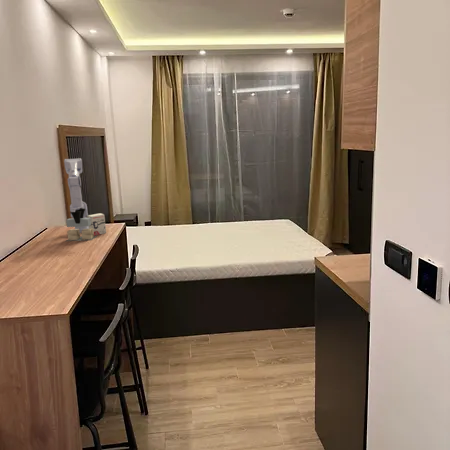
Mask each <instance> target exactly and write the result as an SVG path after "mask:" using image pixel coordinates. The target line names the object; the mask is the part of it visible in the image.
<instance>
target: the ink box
mask: <svg viewBox="0 0 450 450" xmlns="http://www.w3.org/2000/svg"><path fill="white" fill-rule="evenodd" d="M86 217H87V218H90V222H91V225H90V226H89V229H92V228H93V231H94V236H98V235H102V234H107V228H106V226H107V225H106V217H105V214H104V213H101V212H100V213H94V214H88V216H86Z"/></svg>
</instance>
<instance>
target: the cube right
mask: <svg viewBox="0 0 450 450" xmlns="http://www.w3.org/2000/svg"><path fill="white" fill-rule="evenodd" d="M81 232H82V233H81V236H82V240H84V239H92V238H94V236H95V235H94V231H93V228H92V229H83V230H82V231H81ZM94 239H95V238H94Z"/></svg>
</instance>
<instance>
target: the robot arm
mask: <svg viewBox="0 0 450 450" xmlns="http://www.w3.org/2000/svg"><path fill="white" fill-rule="evenodd" d="M63 163H64V169H65V173H66V174H67V175H68V178H67V186H68V189H69V195H70V201H71V202H70V203H71V204H70V205H69V212H70V217H71V218H74V220H75V223H76V224H79V223H80V218H88V217H87V216H88V215H89V213H88V206H87V205H88V204H87V202H85V201H83V196H82V188H81V187H82V180H81V177H80V174H82V173H83V161H82V158H80V157H79V158H64V161H63ZM74 229H79V231H80V234H82V232H81V231H82V230H83V229H89V226H82V227H74Z"/></svg>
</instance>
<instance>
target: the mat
mask: <svg viewBox="0 0 450 450" xmlns="http://www.w3.org/2000/svg"><path fill="white" fill-rule="evenodd" d="M97 237H98V235H94V238H92V239H84V240H82V235H80V238H79V239H78V240H68V239H66V240H65V242H81V241H82V242H84V241H93V240H95V238H97Z"/></svg>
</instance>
